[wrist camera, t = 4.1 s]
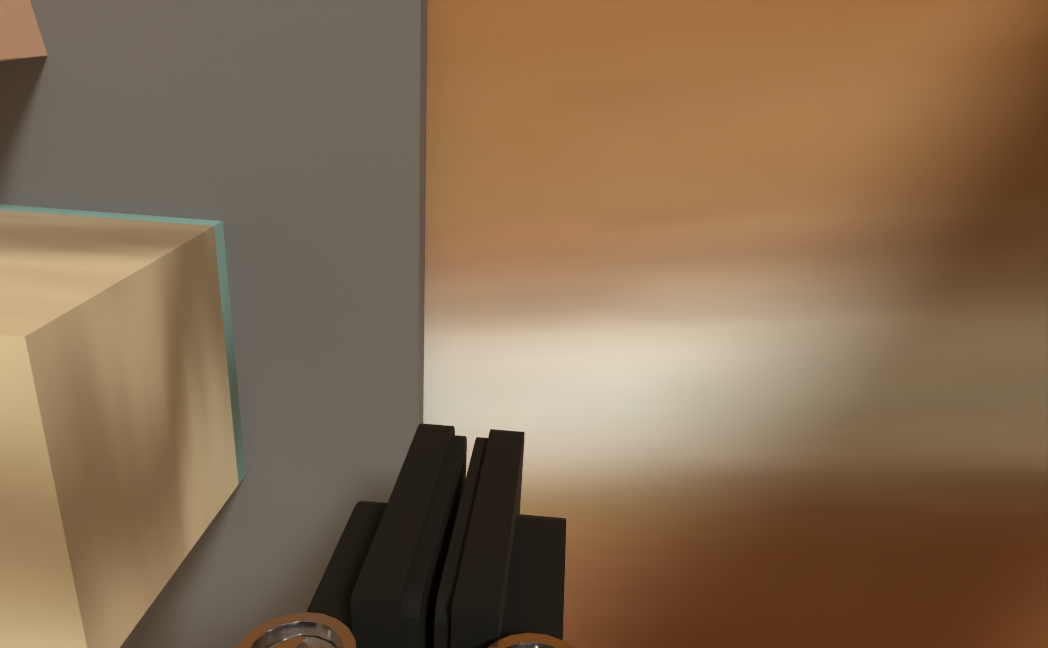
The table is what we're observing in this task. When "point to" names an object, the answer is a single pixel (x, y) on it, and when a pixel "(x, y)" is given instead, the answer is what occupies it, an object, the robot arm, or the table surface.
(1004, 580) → the table surface
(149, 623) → the mat
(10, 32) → the terracotta block
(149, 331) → the maple block
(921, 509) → the table surface
